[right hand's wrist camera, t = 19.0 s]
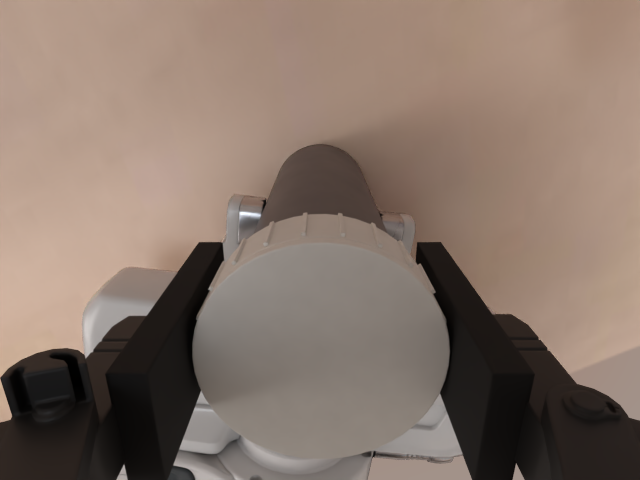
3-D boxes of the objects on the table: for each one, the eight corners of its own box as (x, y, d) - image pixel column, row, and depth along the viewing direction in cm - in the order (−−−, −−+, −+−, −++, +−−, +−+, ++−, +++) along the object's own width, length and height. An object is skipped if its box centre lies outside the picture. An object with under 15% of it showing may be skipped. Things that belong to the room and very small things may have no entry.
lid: (387, 424, 14) (398, 483, 12) (189, 376, 13) (166, 430, 11) (468, 249, 11) (498, 285, 10) (237, 180, 11) (220, 204, 9)
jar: (260, 204, 26) (183, 375, 11) (303, 127, 24) (278, 208, 10) (335, 245, 27) (353, 453, 12) (381, 173, 25) (467, 312, 11)
